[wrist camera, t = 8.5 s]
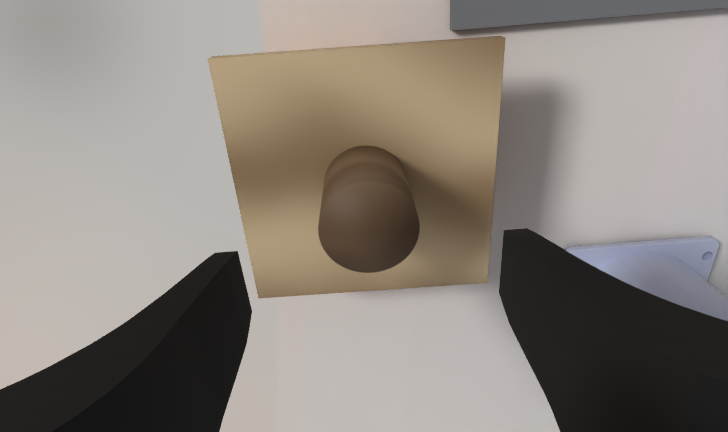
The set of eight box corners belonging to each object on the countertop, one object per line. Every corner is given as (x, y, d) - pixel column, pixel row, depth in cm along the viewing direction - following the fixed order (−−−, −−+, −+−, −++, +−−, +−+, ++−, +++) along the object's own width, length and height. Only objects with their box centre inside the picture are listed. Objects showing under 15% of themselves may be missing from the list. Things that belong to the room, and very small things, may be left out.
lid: (483, 274, 20) (513, 340, 16) (260, 290, 20) (240, 359, 16) (499, 35, 16) (547, 51, 12) (212, 56, 16) (169, 78, 12)
